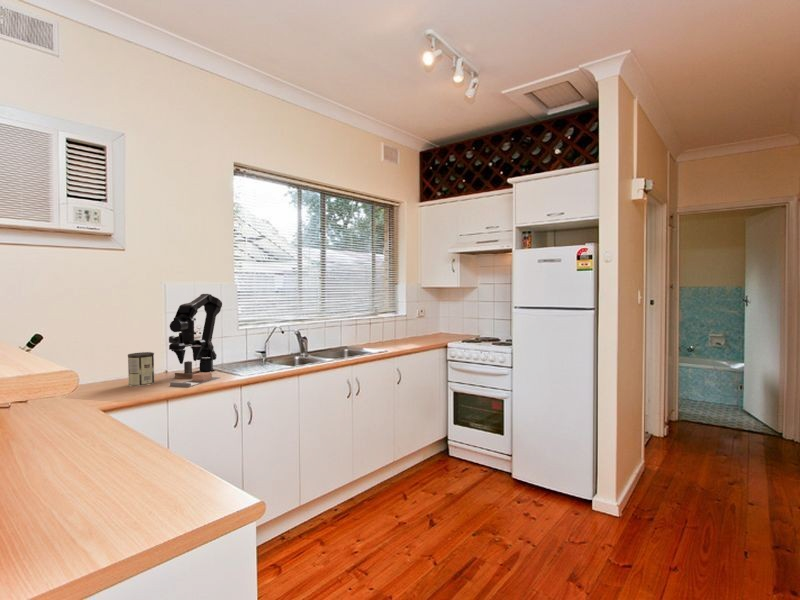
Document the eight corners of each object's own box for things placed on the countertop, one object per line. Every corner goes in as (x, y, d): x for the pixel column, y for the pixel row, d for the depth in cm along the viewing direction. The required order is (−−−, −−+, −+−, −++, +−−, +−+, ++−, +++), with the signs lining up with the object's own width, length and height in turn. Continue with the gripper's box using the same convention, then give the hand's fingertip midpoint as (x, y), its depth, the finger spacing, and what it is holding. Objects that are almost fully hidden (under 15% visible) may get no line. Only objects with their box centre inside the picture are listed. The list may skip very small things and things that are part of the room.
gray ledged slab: (204, 377, 219) (203, 373, 219) (221, 378, 217) (221, 374, 217) (170, 386, 198) (170, 382, 198) (189, 387, 196) (189, 383, 195)
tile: (201, 378, 214) (201, 372, 214) (211, 379, 213) (211, 372, 213) (192, 381, 209) (192, 374, 209) (203, 381, 207) (203, 375, 207)
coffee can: (138, 382, 208) (138, 351, 208) (159, 382, 207) (159, 352, 207) (122, 387, 198) (122, 355, 198) (144, 387, 197) (143, 355, 197)
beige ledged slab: (183, 376, 222) (183, 360, 222) (200, 377, 220) (200, 361, 220) (174, 378, 217) (174, 362, 217) (192, 379, 214) (192, 363, 214)
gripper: (187, 328, 229) (187, 358, 230) (159, 331, 211) (159, 364, 212) (206, 328, 227) (206, 359, 227) (179, 332, 208) (179, 365, 209)
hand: (188, 362), depth 219 cm, fingers open, 9 cm apart
